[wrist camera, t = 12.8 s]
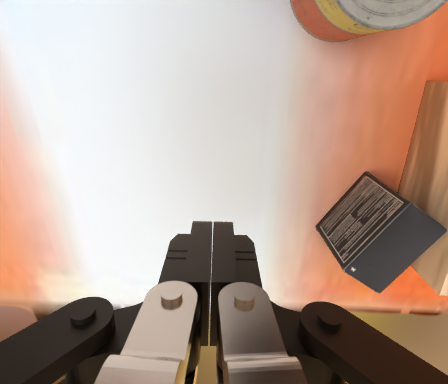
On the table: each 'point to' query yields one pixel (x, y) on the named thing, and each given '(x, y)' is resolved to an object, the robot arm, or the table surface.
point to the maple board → (430, 179)
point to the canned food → (359, 16)
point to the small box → (377, 232)
